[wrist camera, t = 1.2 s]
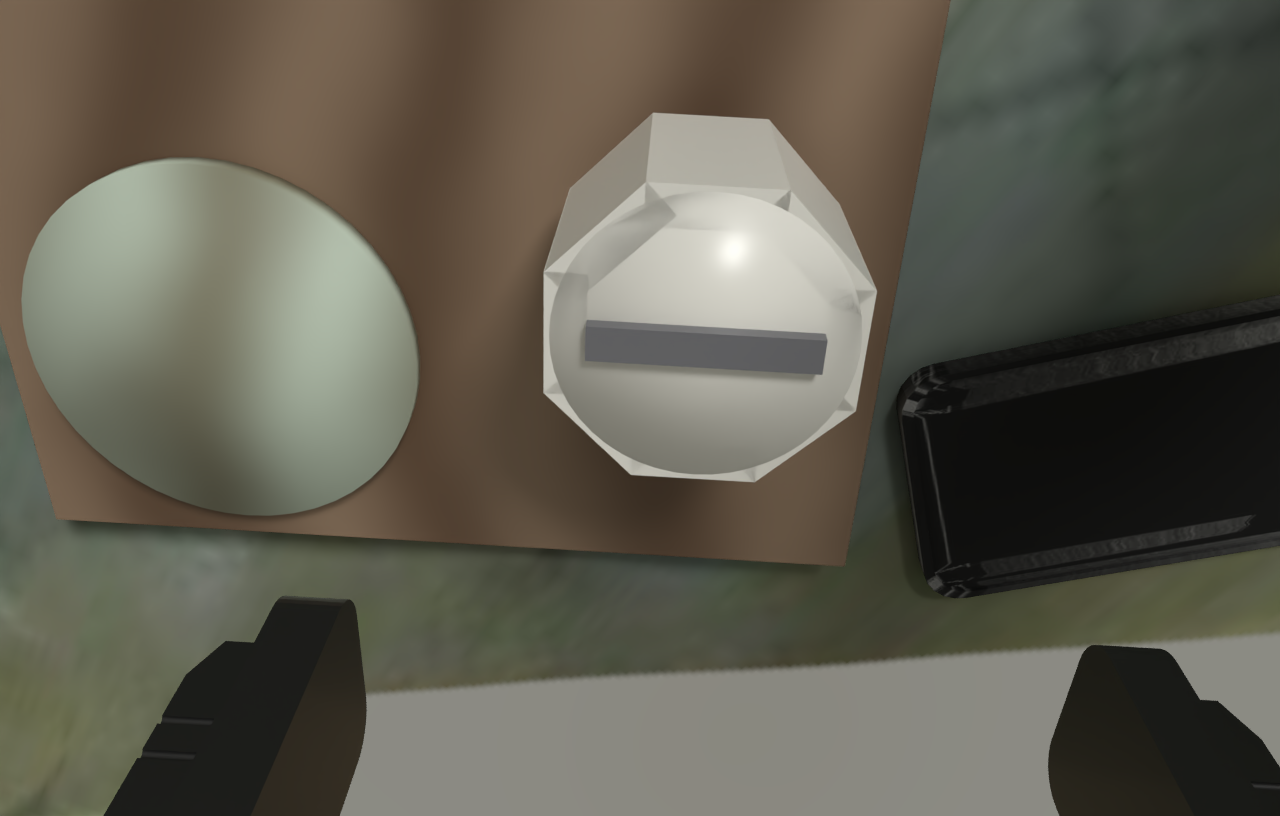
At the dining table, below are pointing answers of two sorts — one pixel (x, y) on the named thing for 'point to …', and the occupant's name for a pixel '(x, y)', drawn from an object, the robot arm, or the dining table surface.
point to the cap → (704, 301)
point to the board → (400, 253)
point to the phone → (1097, 451)
